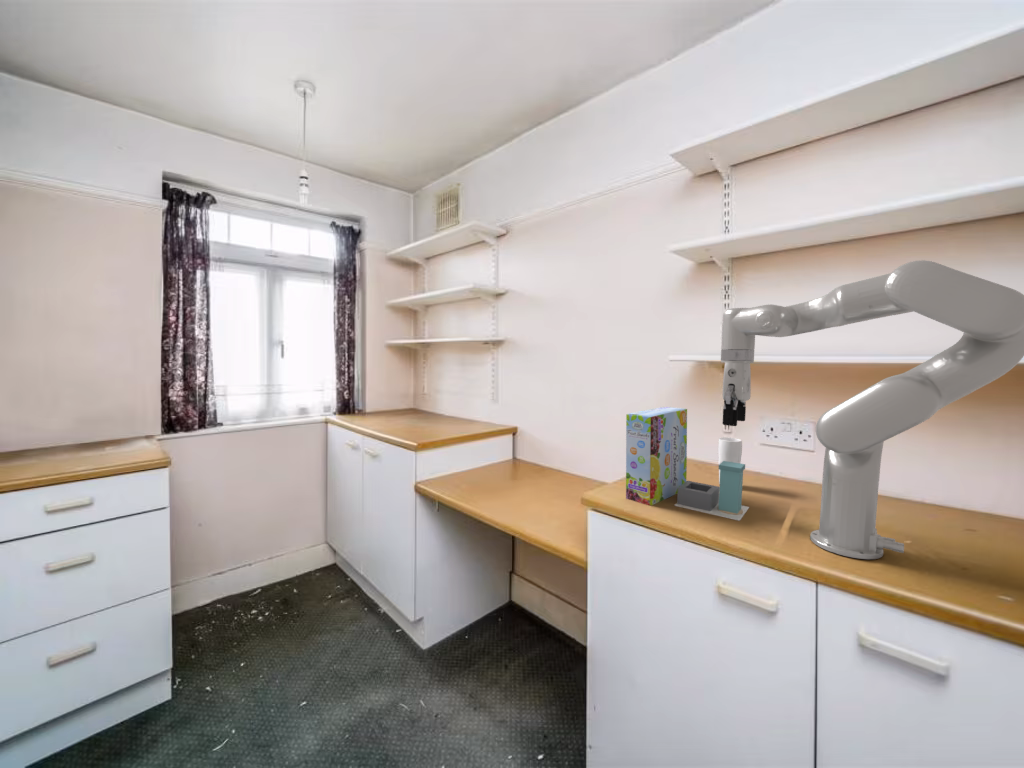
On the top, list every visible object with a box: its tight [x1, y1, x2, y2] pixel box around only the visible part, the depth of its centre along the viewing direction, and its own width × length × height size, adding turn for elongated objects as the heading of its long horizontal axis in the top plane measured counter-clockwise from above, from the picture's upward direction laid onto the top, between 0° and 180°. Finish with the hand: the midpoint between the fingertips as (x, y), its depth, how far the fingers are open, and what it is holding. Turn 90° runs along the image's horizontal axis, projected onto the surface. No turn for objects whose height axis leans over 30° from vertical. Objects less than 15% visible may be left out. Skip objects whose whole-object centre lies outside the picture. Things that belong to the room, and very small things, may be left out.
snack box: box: [625, 406, 688, 506], centre depth 123 cm, size 22×9×26 cm, turn 132°
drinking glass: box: [717, 436, 743, 485], centre depth 134 cm, size 7×7×15 cm
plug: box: [718, 461, 746, 514], centre depth 110 cm, size 5×5×12 cm
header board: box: [674, 480, 750, 522], centre depth 113 cm, size 16×12×6 cm
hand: (734, 422), depth 109 cm, fingers open, 9 cm apart
